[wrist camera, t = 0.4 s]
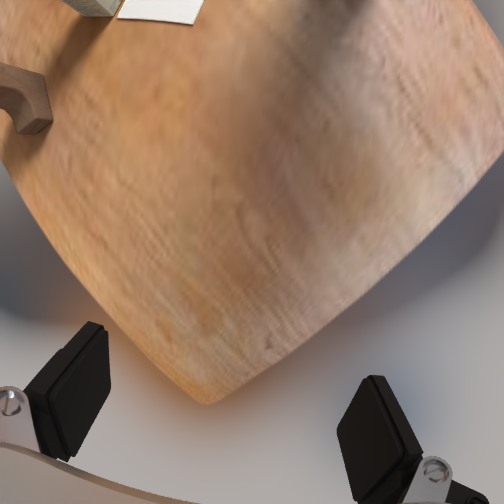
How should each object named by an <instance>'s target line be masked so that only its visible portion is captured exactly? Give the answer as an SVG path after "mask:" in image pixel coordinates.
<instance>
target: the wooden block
mask: <svg viewBox="0 0 504 504" xmlns="http://www.w3.org/2000/svg"><path fill="white" fill-rule="evenodd" d="M0 108H1V109H3V110H5V111H6V112H7V113H8V114H9V115H10V117H11V118H12V119H13V122H14V125H15V128H16V131H17V133H18V134H31V135H34V134H36V133H37V132H39V131H40V130H41V129H43V128H44V127H45V126H47V125H48V124H50V123H51V122H52V121H53V117H52V113H51V109H50V104H49V100H48V95H47V91H46V86H45V81H44V76H43V75H41V74H38V73H35V72H32V71H28V70H25V69H22V68H19V67H15V66H12V65H8V64H5V63H1V62H0Z"/></svg>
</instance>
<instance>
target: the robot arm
mask: <svg viewBox="0 0 504 504" xmlns="http://www.w3.org/2000/svg"><path fill="white" fill-rule="evenodd" d="M108 343H109V342H108V332H107V331H105V330H104V326H103V325H100V324H96V323H93V322H90V321H88V322H87V323H86V324H85V325H84V326H83V327H82V328H81V329H80V331H78V332H77V334H76V335H75V336H74V337H73V338H72V339H71V340H70V341H69V342H68V343H67V344H66V346H65V347H64V348H63V349H60V350H59V351H58V352H56V354H55V355H54V356H53V357H52V358H51V359H50V360H49V361H48V362H47V364H46V365H45V366H44V367H43V368H42V369H41V370H40V372H39V373H38V374H37V375H36V376H35V377H34V379H33V380H32V381H31V382H30V383H29V384H28V386H27V387H26V388H25V389H24V390H23V391H22V390H20V389H19V388H16V387H13V386H12V387H11V386H5V387H0V504H198V503H193V502H188V501H183V500H177V499H173V498H168V497H164V496H160V495H156V494H152V493H149V492H145V491H142V490H138V489H135V488H131V487H128V486H125V485H122V484H119V483H116V482H113V481H110V480H107V479H104V478H101V477H98V476H96V475H93V474H90V473H88V472H85V471H83V470H80V469H78V468H75V467H73V466H70V465H68V464H66V463H63V462H61V461H58V460H56V459H57V458H59V459H61V460H63V461H65V462H68V461H69V459H70V457H71V456H72V457H75V456H76V454H77V453H78V450H79V449H80V447H81V445H82V443H83V441H84V439H85V437H86V435H87V434H88V431H89V430H90V428H91V426H92V424H93V422H94V420H95V419H96V417H97V415H98V413H99V411H100V409H101V408H102V406H103V404H104V402H105V400H106V399H107V397H108V395H109V393H110V390H111V379H110V364H109V346H108V345H109V344H108ZM337 437H338V440H339V444H340V448H341V452H342V456H343V459H344V463H345V468H346V471H347V475H348V480H349V484H350V488H351V491H352V496H353V499H354V501H357V502H358V504H489V501H488V499H487V498H486V497H485V496H484V495H483V494H481V493H479V492H477V491H475V490H473V489H470V488H468V487H466V486H464V485H462V484H460V483H457V482H455V481H453V480H452V469H451V467H450V465H449V464H448V463H447V462H446V461H445V460H443V459H441V458H439V457H436V456H429V457H426V458H424V459H423V457H422V454H423V450H422V448H421V446H420V444H419V442H418V440H417V438H416V436H415V434H414V432H413V430H412V428H411V426H410V424H409V422H408V420H407V418H406V416H405V414H404V412H403V410H402V409H401V407H400V405H399V403H398V401H397V399H396V397H395V395H394V393H393V391H392V389H391V388H390V386H389V384H388V382H387V380H386V378H385V377H384V376H378V375H369V376H368V377H367V378H365V379H363V380H362V382H361V384H360V386H359V388H358V390H357V392H356V394H355V396H354V398H353V399H352V401H351V403H350V405H349V407H348V409H347V410H346V412H345V414H344V416H343V418H342V419H341V421H340V423H339V424H338V427H337Z"/></svg>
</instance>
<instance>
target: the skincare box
mask: <svg viewBox="0 0 504 504" xmlns="http://www.w3.org/2000/svg"><path fill="white" fill-rule="evenodd" d="M61 1H63V2H64V3H66V4H67V5H69V6H70V7H72V8H73V9H74V10H76V11H77V12H79V13H80V14H82V15H83V16H95V17H96V16H100V17H101V16H114V14H115V12H116V11H117V9H118V7H119V5H120V3H121V1H122V0H61Z"/></svg>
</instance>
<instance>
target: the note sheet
mask: <svg viewBox="0 0 504 504" xmlns="http://www.w3.org/2000/svg"><path fill="white" fill-rule="evenodd" d="M203 3H204V0H125V2H124V4H123V6H122V8H121V10H120V12H119V14H118V17H117V18H122V19H143V20H156V21H166V22H175V23H183V24H190V25H193V24H194V22H195V20H196V18H197V15H198V13H199V11H200V9H201V7H202V5H203Z"/></svg>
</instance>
